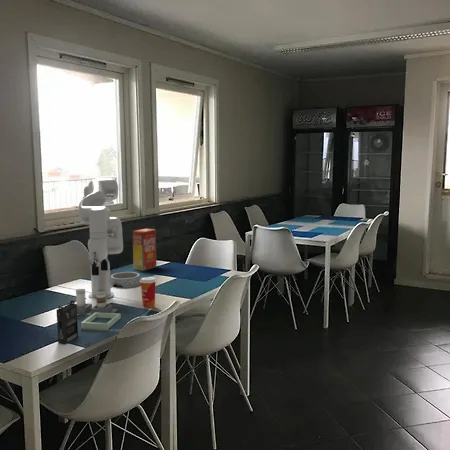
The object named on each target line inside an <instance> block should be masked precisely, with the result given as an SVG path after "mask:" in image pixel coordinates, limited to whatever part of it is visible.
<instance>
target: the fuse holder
mask: <svg viewBox="0 0 450 450" xmlns="http://www.w3.org/2000/svg"><path fill="white" fill-rule="evenodd" d="M117 311H118V308H113V304H108V303H106V308H105V309H103V308H97V304H96V305H94V306H93V303H87V302H86V307H84V308H83V307H77V315H82V316H83V315H84V316H85V315H86V316H91V315H92V314H94V313H95V312H98V313H115V312H117Z"/></svg>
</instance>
